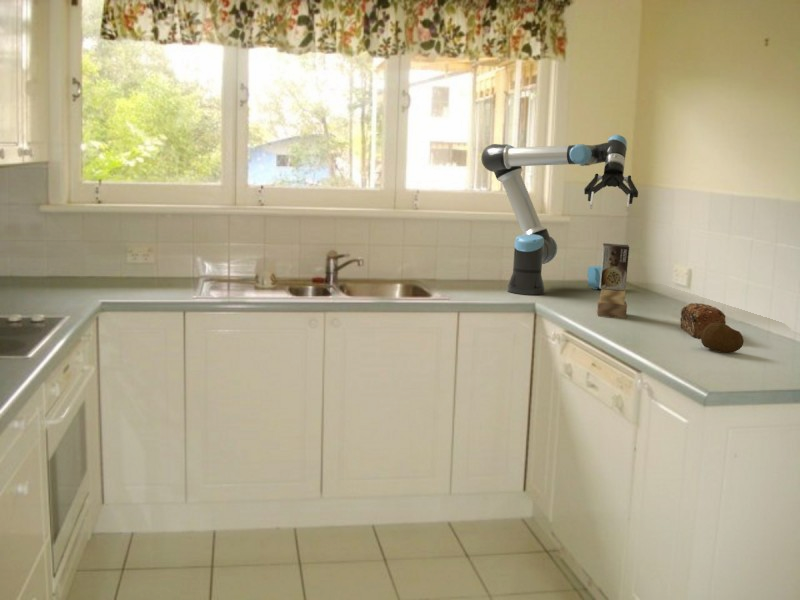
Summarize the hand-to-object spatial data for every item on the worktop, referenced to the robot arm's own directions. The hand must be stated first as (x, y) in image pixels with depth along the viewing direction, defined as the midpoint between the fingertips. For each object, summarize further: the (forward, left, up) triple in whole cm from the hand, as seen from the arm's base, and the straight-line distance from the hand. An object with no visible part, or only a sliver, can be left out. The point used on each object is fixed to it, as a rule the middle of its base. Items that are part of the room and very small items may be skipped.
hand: (609, 207), depth 339 cm
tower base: (+3, -20, -38) cm, 43 cm away
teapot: (+2, +42, -38) cm, 57 cm away
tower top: (+3, -20, -33) cm, 39 cm away
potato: (+33, -71, -38) cm, 87 cm away
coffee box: (+3, -21, -28) cm, 35 cm away
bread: (+32, -43, -38) cm, 65 cm away
